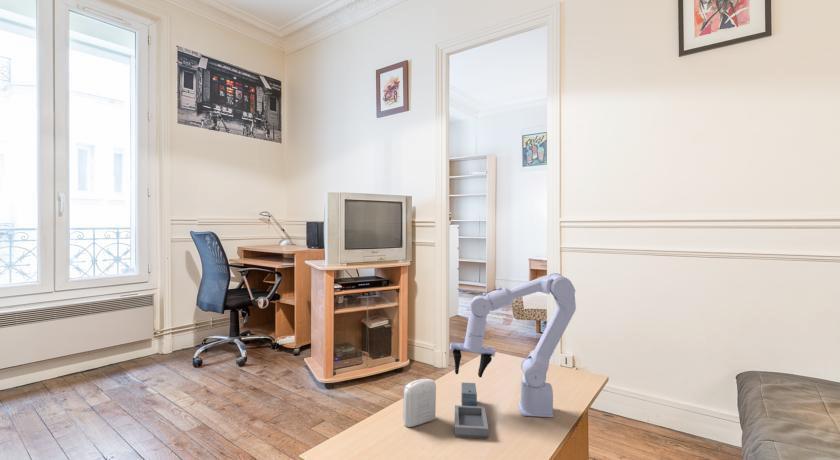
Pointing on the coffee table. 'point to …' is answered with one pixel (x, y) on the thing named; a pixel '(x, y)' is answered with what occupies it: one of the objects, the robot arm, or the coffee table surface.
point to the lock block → (468, 394)
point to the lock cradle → (471, 422)
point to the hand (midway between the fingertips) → (468, 374)
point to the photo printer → (419, 402)
